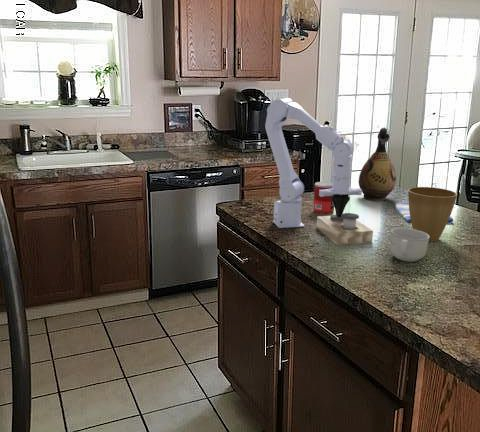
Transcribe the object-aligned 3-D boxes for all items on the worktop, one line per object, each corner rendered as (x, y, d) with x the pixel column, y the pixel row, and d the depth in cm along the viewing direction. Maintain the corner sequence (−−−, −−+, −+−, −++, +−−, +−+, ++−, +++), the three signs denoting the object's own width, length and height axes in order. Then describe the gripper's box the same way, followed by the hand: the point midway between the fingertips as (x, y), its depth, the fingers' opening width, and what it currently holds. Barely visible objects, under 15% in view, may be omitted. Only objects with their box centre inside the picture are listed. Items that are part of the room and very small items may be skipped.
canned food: (335, 214, 201) (337, 186, 198) (314, 213, 201) (315, 185, 198) (332, 208, 209) (334, 181, 206) (312, 208, 209) (313, 181, 206)
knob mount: (336, 244, 166) (337, 232, 165) (316, 227, 184) (317, 216, 183) (372, 242, 169) (373, 230, 168) (348, 225, 187) (349, 214, 186)
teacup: (397, 249, 163) (399, 224, 161) (432, 257, 156) (435, 232, 154) (377, 261, 152) (380, 235, 150) (414, 270, 146) (417, 243, 144)
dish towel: (437, 208, 213) (437, 202, 212) (454, 225, 190) (455, 218, 189) (393, 207, 214) (394, 200, 213) (405, 224, 191) (406, 216, 191)
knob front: (344, 231, 168) (345, 218, 167) (337, 226, 173) (338, 213, 172) (360, 230, 169) (361, 217, 168) (353, 225, 174) (354, 212, 173)
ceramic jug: (395, 203, 217) (402, 131, 209) (357, 201, 220) (362, 129, 212) (392, 194, 234) (398, 126, 225) (357, 192, 236) (362, 125, 228)
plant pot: (446, 248, 164) (452, 199, 159) (398, 240, 171) (403, 192, 167) (454, 236, 176) (460, 189, 172) (409, 229, 183) (414, 184, 179)
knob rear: (333, 232, 177) (334, 219, 176) (327, 227, 183) (328, 215, 181) (349, 231, 179) (349, 218, 177) (342, 226, 184) (343, 214, 183)
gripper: (325, 180, 170) (322, 220, 174) (366, 178, 173) (363, 218, 177) (317, 175, 177) (315, 214, 181) (358, 174, 180) (355, 212, 184)
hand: (338, 216), depth 179 cm, fingers closed
